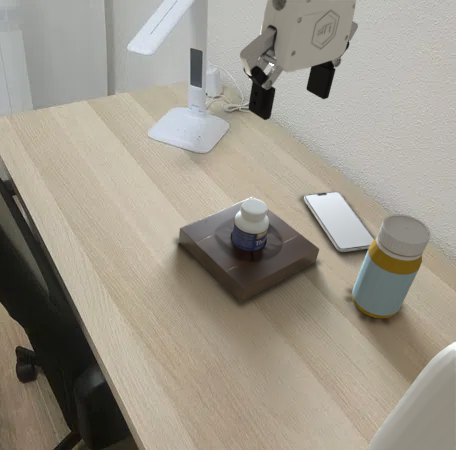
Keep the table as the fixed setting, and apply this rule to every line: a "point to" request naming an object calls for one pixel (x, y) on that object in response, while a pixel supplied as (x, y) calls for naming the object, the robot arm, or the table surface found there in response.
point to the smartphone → (339, 221)
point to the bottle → (390, 266)
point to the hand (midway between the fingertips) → (288, 104)
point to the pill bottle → (251, 225)
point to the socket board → (247, 252)
